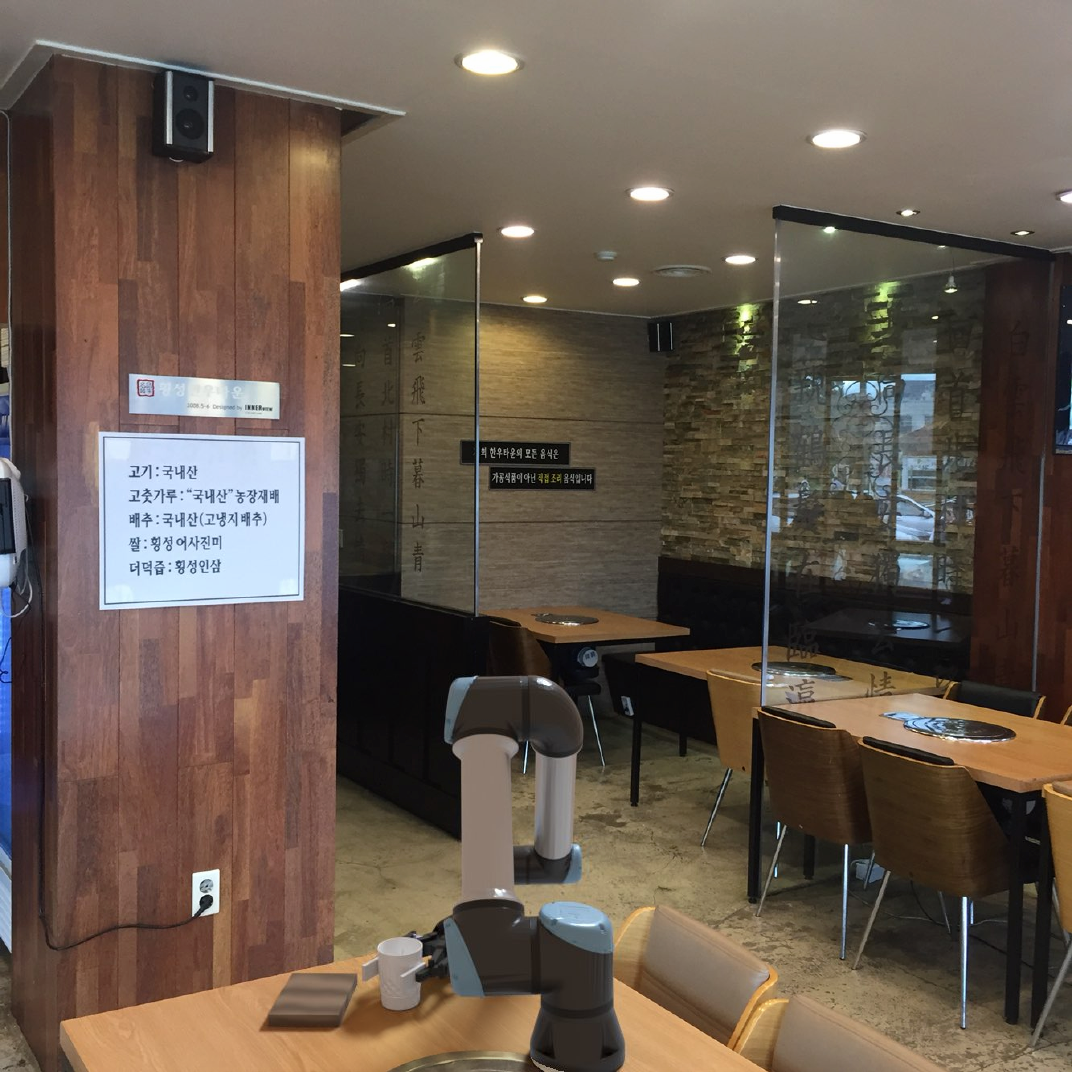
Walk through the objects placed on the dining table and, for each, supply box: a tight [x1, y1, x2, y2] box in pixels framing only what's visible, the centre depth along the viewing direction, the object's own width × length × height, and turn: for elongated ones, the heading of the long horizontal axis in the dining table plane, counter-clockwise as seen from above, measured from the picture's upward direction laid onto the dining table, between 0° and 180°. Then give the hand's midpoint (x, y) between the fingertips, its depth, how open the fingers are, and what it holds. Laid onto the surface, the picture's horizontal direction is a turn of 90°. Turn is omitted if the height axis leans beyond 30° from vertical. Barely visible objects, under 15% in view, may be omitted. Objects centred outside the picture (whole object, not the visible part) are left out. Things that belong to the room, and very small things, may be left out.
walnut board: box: [267, 972, 359, 1028], centre depth 192 cm, size 16×12×2 cm
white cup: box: [376, 936, 423, 1011], centre depth 193 cm, size 8×8×10 cm
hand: (382, 978), depth 189 cm, fingers closed on white cup, 8 cm apart
